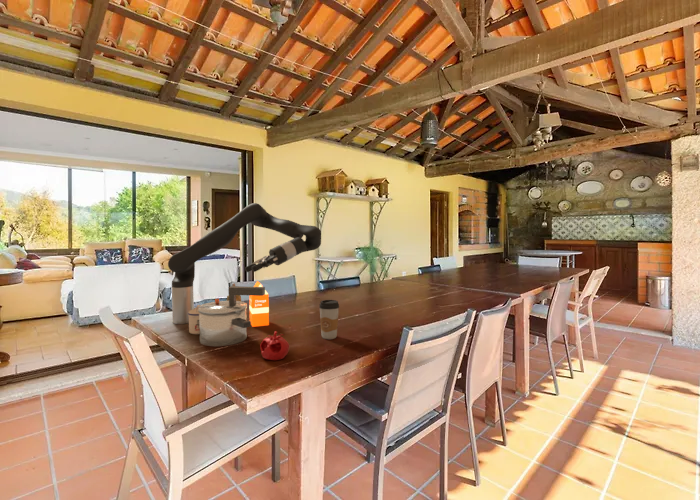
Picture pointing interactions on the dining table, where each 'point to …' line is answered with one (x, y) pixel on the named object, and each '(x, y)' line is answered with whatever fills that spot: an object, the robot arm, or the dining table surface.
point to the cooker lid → (231, 301)
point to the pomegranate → (274, 347)
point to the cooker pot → (223, 328)
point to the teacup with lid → (194, 321)
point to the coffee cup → (329, 318)
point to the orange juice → (259, 308)
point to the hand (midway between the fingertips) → (249, 269)
